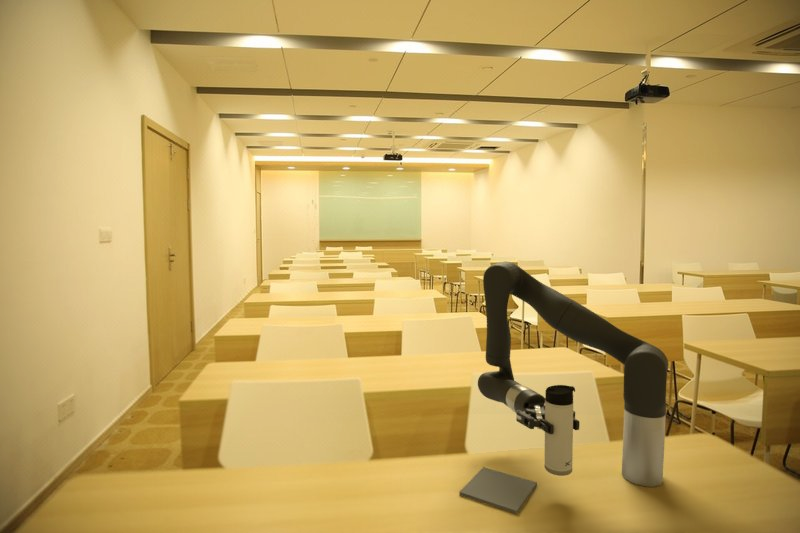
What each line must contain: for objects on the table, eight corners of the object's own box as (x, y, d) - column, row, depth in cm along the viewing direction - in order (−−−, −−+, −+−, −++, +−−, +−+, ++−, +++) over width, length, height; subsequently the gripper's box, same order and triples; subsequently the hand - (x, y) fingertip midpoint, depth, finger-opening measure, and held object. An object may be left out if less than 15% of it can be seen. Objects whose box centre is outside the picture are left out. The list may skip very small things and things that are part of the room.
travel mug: (575, 477, 110) (577, 392, 109) (545, 475, 112) (546, 390, 110) (571, 464, 116) (573, 383, 115) (543, 461, 118) (544, 381, 116)
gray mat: (483, 469, 126) (483, 466, 126) (536, 485, 118) (536, 482, 118) (459, 495, 114) (459, 491, 114) (516, 514, 107) (516, 510, 107)
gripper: (501, 392, 124) (537, 416, 108) (550, 385, 128) (592, 408, 112) (501, 420, 125) (537, 448, 109) (549, 413, 129) (591, 439, 113)
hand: (565, 428), depth 111 cm, fingers closed on travel mug, 6 cm apart
